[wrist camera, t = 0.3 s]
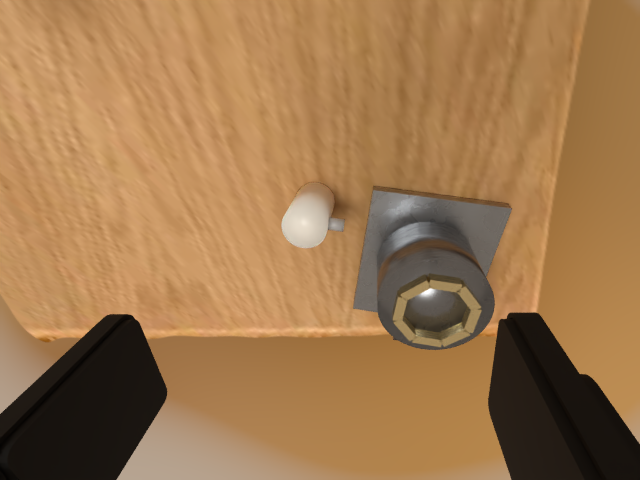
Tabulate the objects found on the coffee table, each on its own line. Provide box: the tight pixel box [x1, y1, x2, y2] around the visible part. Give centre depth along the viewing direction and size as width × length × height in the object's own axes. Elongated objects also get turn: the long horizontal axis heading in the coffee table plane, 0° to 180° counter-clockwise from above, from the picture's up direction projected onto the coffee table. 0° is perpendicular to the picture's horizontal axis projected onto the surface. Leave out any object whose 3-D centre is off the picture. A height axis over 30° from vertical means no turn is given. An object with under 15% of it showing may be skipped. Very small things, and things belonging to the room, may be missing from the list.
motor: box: [353, 186, 512, 350], centre depth 41 cm, size 18×16×12 cm
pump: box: [282, 182, 345, 248], centre depth 41 cm, size 5×7×8 cm
